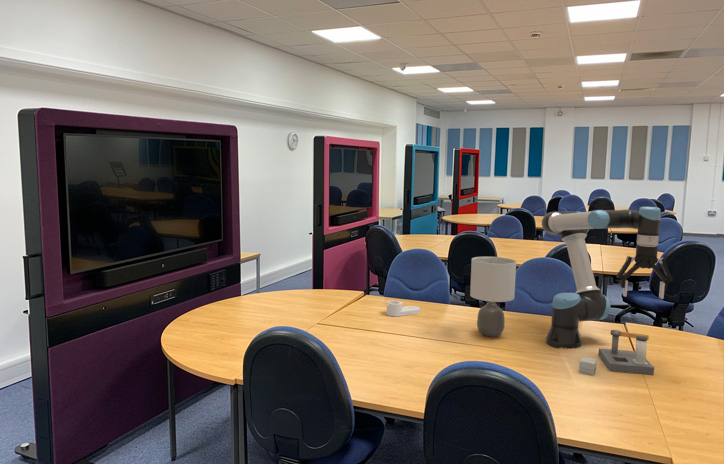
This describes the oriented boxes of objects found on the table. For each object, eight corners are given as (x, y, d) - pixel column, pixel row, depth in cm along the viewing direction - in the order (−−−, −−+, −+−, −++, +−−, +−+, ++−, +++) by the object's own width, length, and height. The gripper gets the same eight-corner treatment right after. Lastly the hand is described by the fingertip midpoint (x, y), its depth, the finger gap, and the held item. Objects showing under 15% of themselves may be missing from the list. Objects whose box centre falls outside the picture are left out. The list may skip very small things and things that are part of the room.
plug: (637, 359, 203) (639, 335, 202) (647, 362, 200) (649, 337, 199) (632, 360, 201) (634, 336, 200) (642, 363, 198) (644, 339, 197)
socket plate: (609, 370, 199) (611, 346, 197) (598, 354, 216) (600, 332, 215) (653, 374, 195) (655, 349, 194) (638, 358, 213) (640, 335, 212)
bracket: (391, 317, 269) (391, 305, 268) (383, 312, 276) (384, 301, 276) (422, 313, 277) (423, 301, 276) (414, 309, 285) (415, 297, 284)
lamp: (465, 337, 236) (468, 261, 232) (472, 325, 255) (475, 255, 251) (510, 343, 229) (514, 265, 224) (514, 330, 248) (518, 258, 243)
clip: (648, 340, 204) (648, 337, 204) (610, 335, 210) (610, 332, 210) (647, 338, 207) (648, 334, 207) (610, 332, 213) (610, 329, 213)
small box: (593, 375, 194) (594, 363, 193) (578, 372, 197) (579, 360, 196) (596, 371, 198) (597, 359, 198) (580, 367, 202) (581, 356, 201)
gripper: (616, 245, 199) (612, 297, 201) (685, 248, 193) (680, 301, 196) (611, 242, 206) (607, 292, 208) (677, 245, 201) (672, 296, 203)
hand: (642, 297), depth 202 cm, fingers open, 13 cm apart
